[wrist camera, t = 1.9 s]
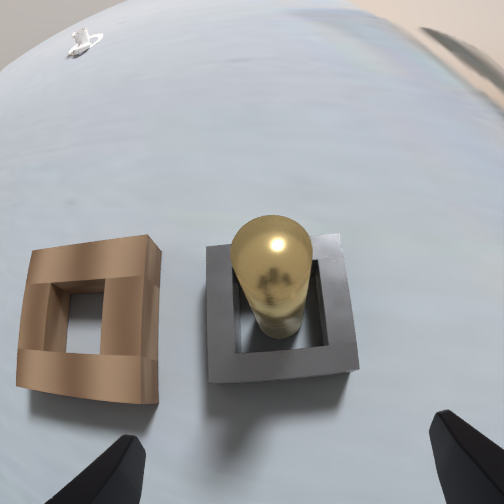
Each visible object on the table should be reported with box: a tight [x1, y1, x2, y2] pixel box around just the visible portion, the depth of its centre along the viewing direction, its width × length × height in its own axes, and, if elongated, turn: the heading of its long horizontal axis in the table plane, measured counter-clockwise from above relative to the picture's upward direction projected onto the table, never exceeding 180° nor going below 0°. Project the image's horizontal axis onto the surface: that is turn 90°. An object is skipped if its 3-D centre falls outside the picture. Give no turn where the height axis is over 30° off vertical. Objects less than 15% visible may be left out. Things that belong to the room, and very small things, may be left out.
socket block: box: [206, 234, 359, 384], centre depth 21 cm, size 9×9×3 cm
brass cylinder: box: [230, 215, 313, 339], centre depth 17 cm, size 3×3×11 cm
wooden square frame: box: [16, 235, 162, 404], centre depth 22 cm, size 12×12×3 cm
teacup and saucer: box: [69, 27, 103, 55], centre depth 47 cm, size 9×8×4 cm
